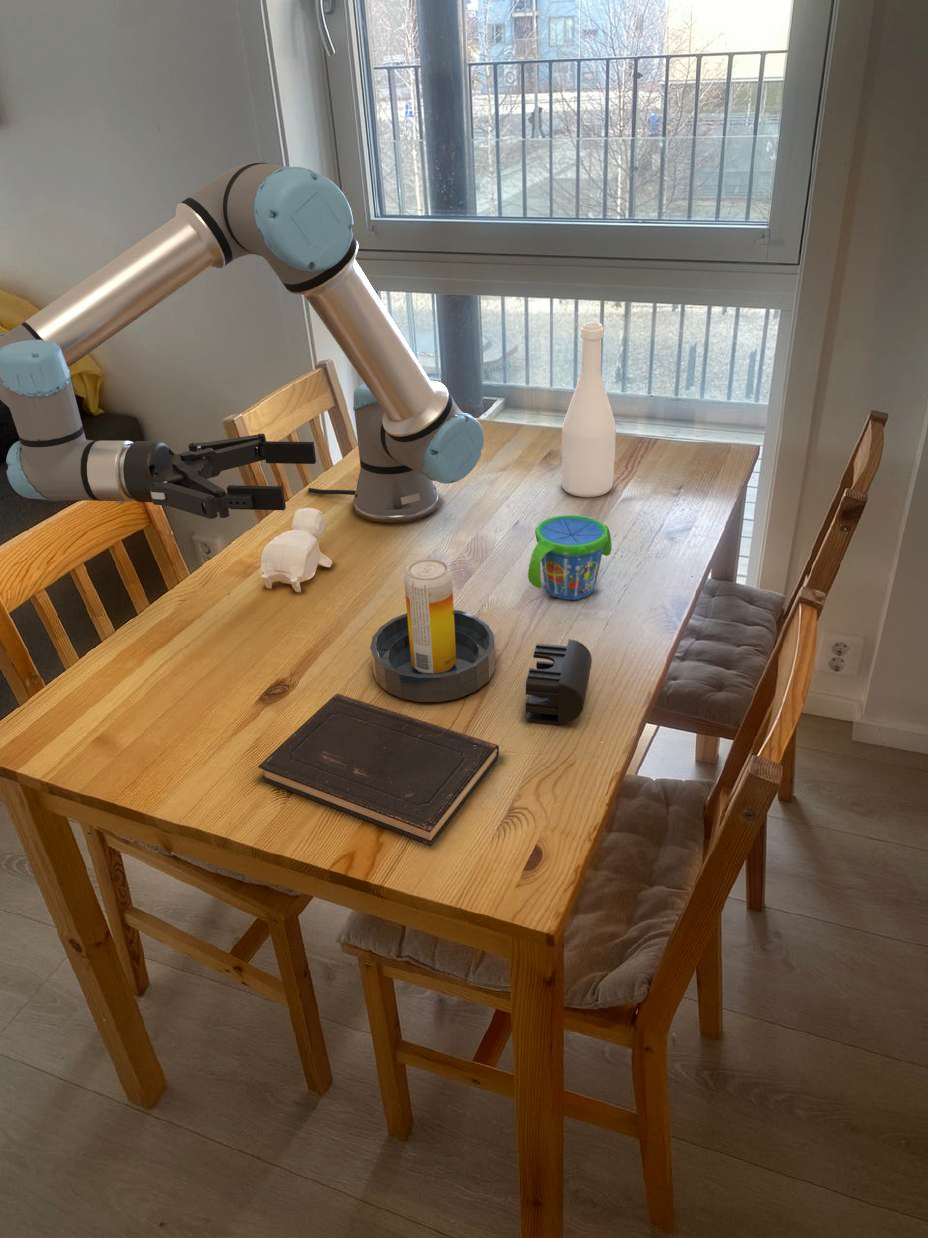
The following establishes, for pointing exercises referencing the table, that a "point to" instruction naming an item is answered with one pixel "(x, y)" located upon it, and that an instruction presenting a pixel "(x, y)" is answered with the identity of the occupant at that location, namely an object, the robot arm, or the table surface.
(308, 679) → the table surface
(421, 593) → the beer can
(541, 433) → the table surface
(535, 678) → the end cap
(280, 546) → the white animal figurine
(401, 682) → the bowl
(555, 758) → the table surface
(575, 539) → the snack cup
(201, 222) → the robot arm
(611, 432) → the wine bottle
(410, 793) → the hardcover book
